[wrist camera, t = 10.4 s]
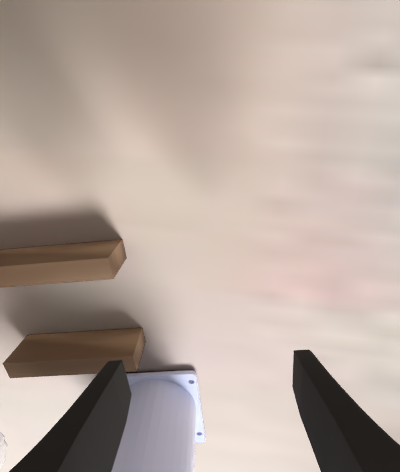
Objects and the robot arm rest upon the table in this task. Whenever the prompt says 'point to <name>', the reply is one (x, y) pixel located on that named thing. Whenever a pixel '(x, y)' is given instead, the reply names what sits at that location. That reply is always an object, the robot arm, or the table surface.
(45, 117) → the table surface
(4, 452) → the vase
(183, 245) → the table surface
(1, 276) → the shelf slot
